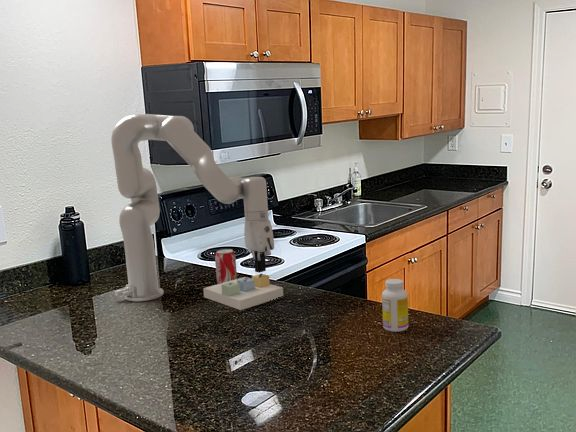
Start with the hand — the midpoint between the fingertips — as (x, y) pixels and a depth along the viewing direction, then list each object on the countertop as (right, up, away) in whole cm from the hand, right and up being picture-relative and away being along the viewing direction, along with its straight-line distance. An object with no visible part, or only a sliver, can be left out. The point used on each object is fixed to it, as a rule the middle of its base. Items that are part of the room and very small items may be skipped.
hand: (260, 271), depth 191 cm
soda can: (-12, -6, +14) cm, 20 cm away
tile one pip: (-9, -7, -7) cm, 13 cm away
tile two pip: (-4, -6, -3) cm, 8 cm away
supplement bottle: (+37, -12, -35) cm, 53 cm away
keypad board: (-6, -8, -1) cm, 10 cm away
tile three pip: (0, -5, +1) cm, 6 cm away
